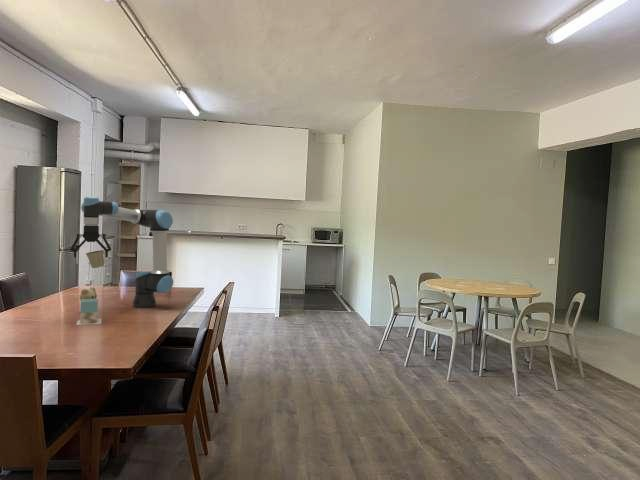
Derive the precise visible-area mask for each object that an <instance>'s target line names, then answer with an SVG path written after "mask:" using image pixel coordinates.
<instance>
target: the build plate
mask: <svg viewBox="0 0 640 480" xmlns="http://www.w3.org/2000/svg"><path fill="white" fill-rule="evenodd" d="M98 324H99V325H100V324H102V318H98V320H97V323H87V324H81V319H77V322H76V326H82V325H98Z"/></svg>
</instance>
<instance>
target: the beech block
mask: <svg viewBox="0 0 640 480" xmlns="http://www.w3.org/2000/svg"><path fill="white" fill-rule="evenodd" d="M98 311H99V309H98V310H97V312H90V313H81V312H80V320H81V324H86V325H88V324H87V323H97V320H98V319H99V318H98V317H99V316H98V315H99V312H98Z"/></svg>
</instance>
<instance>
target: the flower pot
mask: <svg viewBox="0 0 640 480" xmlns="http://www.w3.org/2000/svg"><path fill="white" fill-rule="evenodd" d="M104 252H105V250H104V249H103V250H94V251H90V252H86V253H85V255H86V257H87V258H88V261H89V264H90V267H91V268H92V269H98V268H100V267H101V268H102V267H104V266H105V264H104Z"/></svg>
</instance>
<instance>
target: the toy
mask: <svg viewBox="0 0 640 480" xmlns="http://www.w3.org/2000/svg"><path fill="white" fill-rule="evenodd" d="M80 292H81V293H80V295H79V299H80V301H81V300H82V299H98V297H97V296H98V295H97V292H96V288H95V287H94V286H92V287H90V288H89V289H87V288H83V289H82V290H81V291H80Z"/></svg>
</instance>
